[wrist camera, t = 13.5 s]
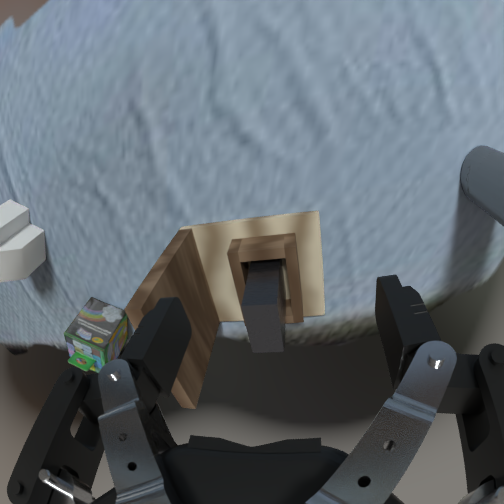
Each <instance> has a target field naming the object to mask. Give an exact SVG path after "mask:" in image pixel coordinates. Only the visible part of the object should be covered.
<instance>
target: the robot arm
mask: <svg viewBox="0 0 504 504" xmlns="http://www.w3.org/2000/svg"><path fill="white" fill-rule="evenodd" d="M461 184H462V188H463V191H464V193H465V194H466V196H467V197H468V198H469V199H470V200H471V201H472V202H474V203H475V204H476V205H478V206H479V207H480V208H482V209H483V210H484V211H485V212H487V213H488V214H489V215H490V216H492V217H493V218H494V219H495V220H496V221H498V222H499V223H500V224H501V225H502V226H504V153H502V152H500V151H498V150H495V149H493V148H490V147H488V146H479V147H476V148H474V149H473V150H472V151H471V152H469V154H468V155H467V157H466V158H465V160H464V162H463V166H462V170H461ZM375 316H376V322H377V326H378V330H379V334H380V337H381V341H382V345H383V349H384V353H385V356H386V361H387V365H388V369H389V373H390V377H391V382H392V386H393V389H397V390H396V391H395V393H394V395H393V396H392V397H389V398H388V400H387V401H386V402H385V404H384V405H383V407H382V409H381V410H380V412H379V413H378V415H377V416H376V418H375V419H374V421H373V422H372V424H371V425H370V427H369V428H368V430H367V431H366V432H365V434H364V435H363V437H362V438H361V439H360V441H359V442H358V444H357V445H356V446H355V448H354V449H353V450H352V452H351V453H350V454H347V453H345V452H343V451H340V450H338V449H335V448H332V447H327V446H321V438H310V439H289V440H283V441H279V442H274V443H270V444H265V445H261V446H255V447H249V446H245V445H241V444H238V443H235V442H231V441H228V440H225V439H221V438H214V437H203V436H193V435H191V436H190V439H189V443H186V444H182V445H177V444H176V442H175V441H174V439H173V437H172V435H171V433H170V431H169V429H168V426H167V424H166V422H165V419H164V417H163V415H162V412H161V410H160V407H159V405H158V404H157V402H156V400H157V398H158V396H160V397H169V395H170V393H171V390H172V387H173V384H174V382H175V379H176V376H177V373H178V371H179V368H180V365H181V363H182V360H183V357H184V355H185V352H186V349H187V347H188V344H189V341H190V339H191V335H192V328H191V324H190V321H189V319H188V317H187V314H186V312H185V310H184V307H183V305H182V303H181V301H180V299H179V298H178V297H166V298H160V299H159V300H158V302H157V304H156V306H155V307H154V309H153V310H150V311H149V312H148V313H147V314H146V315H145V316H144V317H143V318H142V320H141V321H140V323H139V325H138V328H136V330H135V332H134V335H133V336H132V337H131V339H130V341H129V343H128V344H127V346H126V348H125V350H124V352H123V353H122V355H121V357H120V359H115V360H112V361H109V362H108V363H106V364H105V365H104V366H103V367H102V368H101V370H100V371H99V373H96V374H91V375H85V374H84V373H83V371H82V370H81V369H80V368H78V367H71V368H69V369H67V370H65V371H64V372H63V373H62V374H61V375H60V376H59V378H58V380H57V381H56V383H55V385H54V387H53V389H52V391H51V393H50V394H49V396H48V398H47V400H46V402H45V404H44V406H43V407H42V409H41V412H40V413H39V415H38V417H37V420H36V421H35V423H34V425H33V428H32V430H31V432H30V434H29V436H28V438H27V440H26V442H25V445H24V447H23V449H22V451H21V453H20V456H19V458H18V461H17V463H16V465H15V467H14V470H13V472H12V475H11V477H10V480H9V482H8V486H7V494H8V497H9V499H10V501H11V502H12V503H13V504H404V503H403V502H402V501H401V500H399V499H398V498H397V497H396V496H395V495H394V494H393V493H392V491H393V490H394V488H395V487H396V485H397V484H398V482H399V481H400V479H401V477H402V476H403V475H404V473H405V471H406V470H407V468H408V466H409V465H410V463H411V462H412V460H413V458H414V456H415V454H416V453H417V451H418V449H419V447H420V446H421V444H422V442H423V440H424V438H425V436H426V434H427V432H428V430H429V428H430V426H431V424H432V422H433V420H434V418H435V414H436V413H450V414H451V413H452V414H453V413H454V414H456V418H457V423H458V428H459V433H460V439H461V444H462V450H463V457H464V463H465V470H466V480H467V490H468V494H467V495H466V496H464V497H463V498H462V499H461V500H460V502H459V503H458V504H504V346H503V345H500V344H489V345H487V346H485V347H484V348H483V349H482V350H481V352H480V354H479V355H469V354H458V353H455V351H454V349H453V348H452V347H451V346H450V345H449V344H447V343H445V342H442V341H441V339H440V337H439V335H438V332H437V330H436V328H435V326H434V324H433V321H432V319H431V317H430V315H429V313H428V312H427V309H426V307H425V304H424V302H423V300H422V298H421V296H420V294H419V293H418V292H417V291H416V290H414V289H413V288H412V287H411V286H405V287H402V285H401V283H400V281H399V279H398V277H397V275H389V276H382V277H377V283H376V303H375ZM78 410H79V411H80V412H81V413H82V414H83V415H84V417H83V419H82V421H81V424H80V426H79V428H78V431H77V433H76V435H75V438H73V436H72V435H71V432H70V427H71V424H72V422H73V419H74V417H75V415H76V413H77V411H78ZM104 450H105V454H106V458H107V462H108V465H109V469H110V473H111V476H112V479H113V483H114V486H115V487H114V488H113V489H111V490H110V491H108V492H107V493H105V494H103V495H102V496H101V497H99V498H97V499H95V498H94V497H93V496H92V491H91V488H92V485H93V482H94V478H95V475H96V472H97V469H98V466H99V463H100V460H101V458H102V454H103V452H104Z"/></svg>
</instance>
